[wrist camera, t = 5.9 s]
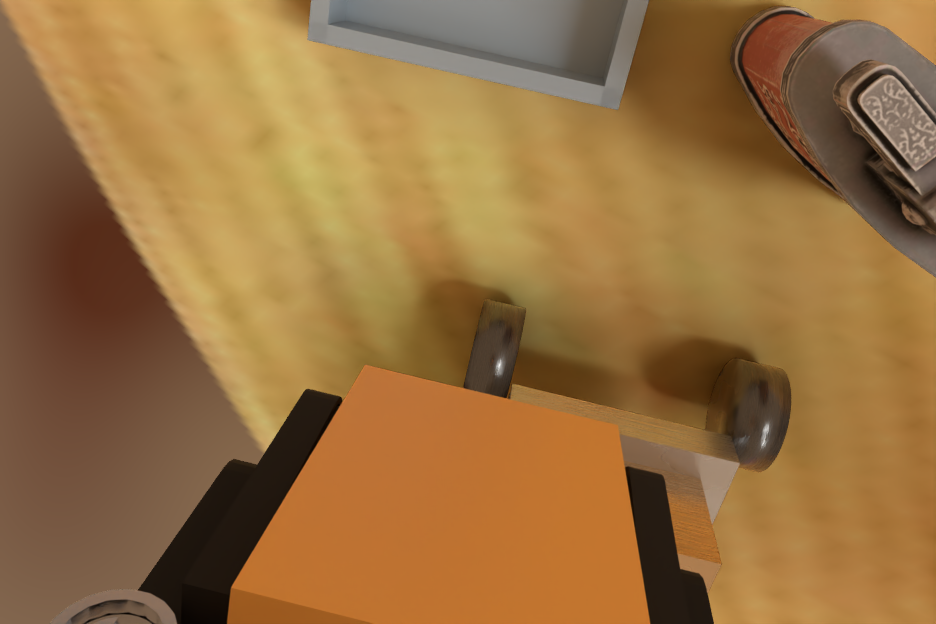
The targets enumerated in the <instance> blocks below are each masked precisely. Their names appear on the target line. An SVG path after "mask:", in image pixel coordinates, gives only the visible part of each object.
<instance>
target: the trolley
mask: <svg viewBox="0 0 936 624" xmlns="http://www.w3.org/2000/svg"><path fill="white" fill-rule="evenodd" d="M525 314H526V308H523V307H519V306H514V305H510V304H506V303H502V302H497V301H493V300H489V299H485V301H484V304H483V308H482V312H481V315H480V319H479V323H478V327H477V331H476V335H475V340H474V344H473V348H472V352H471V356H470V361H469V365H468V369H467V374H466V378H465V382H464V387H463V388H465V389H469V390H473V391H477V392H481V393H486V394H490V395H494V396H498V397H502V398H506V397H507V393H508V389H509V386H510V382H511V378H512V374H513V370H514V366H515V361H516V357H517V353H518V349H519V344H520V340H521V335H522V330H523V325H524V320H525ZM509 399H511V400H515V401H519V402H523V403H527V404H531V405H536V406H540V407H544V408H548V409H552V410H557V411H561V412H565V413H569V414H573V415H577V416H582V417H586V418H590V419H594V420H598V421H602V422H607V423H611V424H615V425H618V429H619V435H620V441H621V447H622V453H623V460H624V466H625V467H627V466H629V467H633V468H638V469H642V470H646V471H650V472H654V473H658V474H662V475H663V476H664V479H665V484H666V490H667V496H668V501H669V507H670V513H671V519H672V524H673V530H674V536H675V542H676V547H677V553H678V559H679V565H680V569H683V570H687V571H691V572H695V573H699V574H700V575H701V576H702V577H703V579H704V582H705V585H706V589H707V593H708V592H709V590H710V588H711V586H712V583H713V581H714V579H715V577H716V575H717V573H718V571H719V569H720V567H721V565H722V564H721V560H720V556H719V552H718V548H717V543H716V539H715V535H714V531H713V527H712V524H713V522H714V520H715V518H716V515H717V513H718V511H719V509H720V507H721V504H722V502H723V500H724V498H725V495H726V493H727V491H728V489H729V487H730V484H731V482H732V480H733V478H734V476H735V473H736V471H737V469H738V467H739V468H743V469H747V470H751V471H755V472H762V471H764V470H766V469H767V468H768V467H769V466H770V465H771V464H772V463H773V461H774V460H775V458H776V457H777V455H778V453H779V451H780V449H781V446H782V444H783V441H784V438H785V435H786V432H787V428H788V423H789V418H790V410H791V389H790V383H789V380H788V377H787V375H786V373H785V372H784V371H783V370H782V369H780V368H776V367H772V366H768V365H764V364H759V363H755V362H751V361H747V360H742V359H738V358H734V359H732V360H730V361H729V362H728V363H727V364H726V365H725V366H724V368H723V369H722V371H721V373H720V375H719V377H718V379H717V381H716V383H715V386H714V389H713V392H712V395H711V398H710V402H709V407H708V412H707V418H706V428H705V430H703V429H699V428H695V427H691V426H687V425H683V424H678V423H674V422H670V421H666V420H662V419H658V418H654V417H649V416H645V415H641V414H637V413H633V412H629V411H624V410H620V409H616V408H612V407H608V406H604V405H600V404H595V403H591V402H587V401H583V400H579V399H575V398H570V397H566V396H562V395H558V394H554V393H550V392H546V391H541V390H537V389H533V388H529V387H525V386H521V385H516V384H512V388H511V392H510V396H509Z"/></svg>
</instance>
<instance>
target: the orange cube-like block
mask: <svg viewBox="0 0 936 624" xmlns="http://www.w3.org/2000/svg"><path fill="white" fill-rule="evenodd" d="M227 624H650V619H649V613H648V607H647V601H646V594H645V588H644V582H643V576H642V570H641V564H640V558H639V552H638V545H637V539H636V533H635V527H634V521H633V515H632V509H631V502H630V496H629V490H628V484H627V478H626V472H625V466H624V460H623V453H622V447H621V441H620V435H619V429H618V425H615V424H611V423H607V422H602V421H598V420H594V419H590V418H586V417H582V416H577V415H573V414H569V413H565V412H561V411H557V410H552V409H548V408H544V407H540V406H536V405H531V404H527V403H523V402H519V401H515V400H511V399H506V398H502V397H498V396H494V395H490V394H486V393H481V392H477V391H473V390H469V389H465V388H461V387H456V386H452V385H448V384H444V383H440V382H435V381H431V380H427V379H423V378H419V377H415V376H410V375H406V374H402V373H398V372H394V371H390V370H385V369H381V368H377V367H373V366H369V365H364V367H363V369H362V370H361V372H360V374H359V375H358V377H357V379H356V380H355V382H354V384H353V385H352V387H351V389H350V390H349V392H348V394H347V395H346V397H345V399H344V400H343V402H342V404H341V405H340V407H339V409H338V410H337V412H336V414H335V415H334V417H333V419H332V420H331V422H330V424H329V425H328V427H327V429H326V430H325V432H324V434H323V435H322V437H321V439H320V440H319V442H318V444H317V445H316V447H315V449H314V450H313V452H312V454H311V455H310V457H309V459H308V460H307V462H306V464H305V465H304V467H303V469H302V470H301V472H300V474H299V475H298V477H297V479H296V480H295V482H294V484H293V485H292V487H291V489H290V490H289V492H288V494H287V495H286V497H285V499H284V500H283V502H282V504H281V505H280V507H279V509H278V510H277V512H276V514H275V515H274V517H273V519H272V520H271V522H270V524H269V525H268V527H267V528H266V530H265V532H264V533H263V535H262V537H261V538H260V540H259V542H258V543H257V545H256V547H255V548H254V550H253V552H252V553H251V555H250V557H249V558H248V560H247V562H246V563H245V565H244V567H243V568H242V570H241V572H240V573H239V575H238V577H237V578H236V580H235V582H234V583H233V585H232V587H231V592H230V601H229V610H228V619H227Z"/></svg>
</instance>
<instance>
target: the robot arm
mask: <svg viewBox="0 0 936 624" xmlns="http://www.w3.org/2000/svg"><path fill="white" fill-rule="evenodd" d="M341 404H342V398H341V397H339V396H335V395H331V394H327V393H323V392H319V391H315V390H310V389H306V390H305V391H304V392H303V394H302V396H301V397H300V399H299V400H298V402H297V403H296V405H295V406H294V408H293V410H292V411H291V413H290V414H289V416H288V417H287V419H286V421H285V422H284V424H283V425H282V427H281V428H280V430H279V432H278V433H277V435H276V436H275V438H274V439H273V441H272V443H271V444H270V446H269V447H268V449H267V450H266V452H265V454H264V455H263V457H262V458H261V460H260V461H259V463H258V465H256V464H252V463H248V462H244V461H240V460H236V459H233V460H231V461H229V462H228V463H227V465H226V466H225V467H224V469H223V470H222V471H221V472H220V474H219V475H218V477H217V478H216V480H215V481H214V482H213V484H212V485H211V487H210V488H209V490H208V491H207V492H206V494H205V495H204V497H203V498H202V500H201V501H200V502H199V504H198V505H197V507H196V508H195V509H194V511H193V512H192V514H191V515H190V517H189V518H188V519H187V521H186V522H185V524H184V525H183V527H182V528H181V530H180V531H179V532H178V534H177V535H176V537H175V538H174V540H173V541H172V542H171V544H170V545H169V547H168V548H167V549H166V551H165V552H164V554H163V555H162V557H161V558H160V559H159V561H158V562H157V564H156V565H155V567H154V568H153V569H152V571H151V572H150V574H149V575H148V577H147V578H146V580H145V581H144V582H143V584H142V585H141V587H140V588H139V589H138V590H133V589H122V590H109V591H105V592H101V593H97V594H93V595H90V596H88V597H86V598H84V599H82V600H80V601H77V602H75V603H73V604H71V605H70V606H69V607H68V608H66V609H65V610H64V611H62V612H61V613H60V614H59V615H57V616H56V617H55V618H54V619H53V620H52V621H51V623H50V624H227V619H228V610H229V601H230V592H231V587H232V585H233V583H234V582H235V580H236V578H237V577H238V575H239V573H240V572H241V570H242V568H243V567H244V565H245V563H246V562H247V560H248V558H249V557H250V555H251V553H252V552H253V550H254V548H255V547H256V545H257V543H258V542H259V540H260V538H261V537H262V535H263V533H264V532H265V530H266V528H267V527H268V525H269V524H270V522H271V520H272V519H273V517H274V515H275V514H276V512H277V510H278V509H279V507H280V505H281V504H282V502H283V500H284V499H285V497H286V495H287V494H288V492H289V490H290V489H291V487H292V485H293V484H294V482H295V480H296V479H297V477H298V475H299V474H300V472H301V470H302V469H303V467H304V465H305V464H306V462H307V460H308V459H309V457H310V455H311V454H312V452H313V450H314V449H315V447H316V445H317V444H318V442H319V440H320V439H321V437H322V435H323V434H324V432H325V430H326V429H327V427H328V425H329V424H330V422H331V420H332V419H333V417H334V415H335V414H336V412H337V410H338V409H339V407H340V405H341ZM625 472H626V478H627V484H628V490H629V496H630V502H631V509H632V515H633V521H634V527H635V533H636V539H637V545H638V552H639V558H640V564H641V570H642V576H643V582H644V588H645V594H646V601H647V607H648V613H649V619H650V624H714V622H713V617H712V612H711V608H710V603H709V598H708V593H707V589H706V585H705V582H704V579H703V577H702V576H701V575H700V574H699V573H695V572H691V571H687V570H683V569H680V565H679V559H678V553H677V547H676V542H675V536H674V530H673V524H672V519H671V513H670V507H669V501H668V496H667V490H666V484H665V479H664V476H663V475H662V474H658V473H654V472H650V471H646V470H642V469H638V468H633V467H629V466H627V467H625Z"/></svg>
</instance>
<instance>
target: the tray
mask: <svg viewBox="0 0 936 624" xmlns="http://www.w3.org/2000/svg"><path fill="white" fill-rule="evenodd" d="M648 3H649V0H311V7H310V18H309V29H308V40H309V41H314V42H318V43H323V44H327V45H331V46H336V47H340V48H345V49H349V50H354V51H358V52H363V53H367V54H371V55H376V56H380V57H385V58H389V59H394V60H398V61H402V62H407V63H411V64H416V65H420V66H425V67H429V68H433V69H438V70H442V71H447V72H451V73H456V74H460V75H465V76H469V77H473V78H478V79H482V80H487V81H491V82H496V83H500V84H504V85H509V86H513V87H518V88H522V89H527V90H531V91H535V92H540V93H544V94H549V95H553V96H558V97H562V98H567V99H571V100H575V101H580V102H584V103H589V104H593V105H598V106H602V107H606V108H611V109H615V110H618V109H619V105H620V102H621V98H622V95H623V91H624V88H625V84H626V81H627V77H628V73H629V70H630V66H631V63H632V59H633V56H634V52H635V49H636V45H637V42H638V38H639V35H640V31H641V27H642V24H643V20H644V17H645V13H646V10H647V6H648Z"/></svg>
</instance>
